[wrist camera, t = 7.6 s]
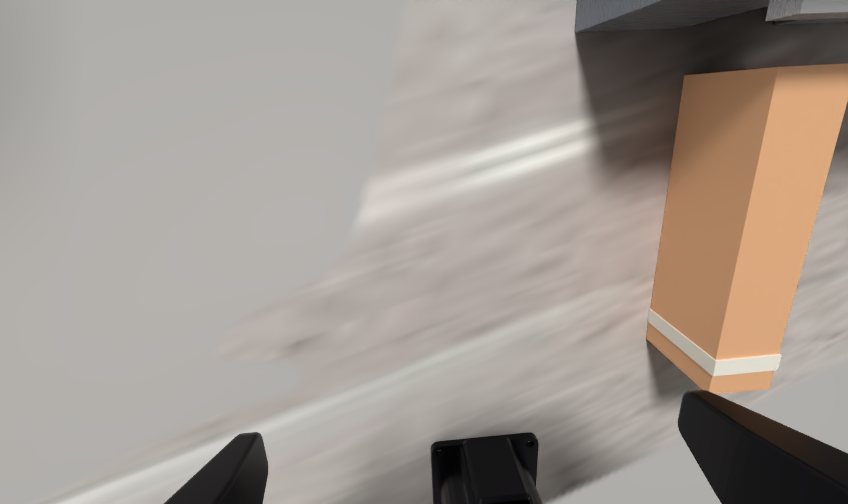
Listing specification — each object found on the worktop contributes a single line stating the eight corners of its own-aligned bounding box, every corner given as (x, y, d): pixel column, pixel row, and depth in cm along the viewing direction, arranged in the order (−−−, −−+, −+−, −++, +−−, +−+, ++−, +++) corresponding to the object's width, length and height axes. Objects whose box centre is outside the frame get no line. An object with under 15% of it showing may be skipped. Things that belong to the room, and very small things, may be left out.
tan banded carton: (696, 333, 24) (771, 389, 20) (645, 338, 24) (708, 396, 19) (747, 71, 20) (862, 62, 15) (683, 75, 19) (779, 66, 15)
